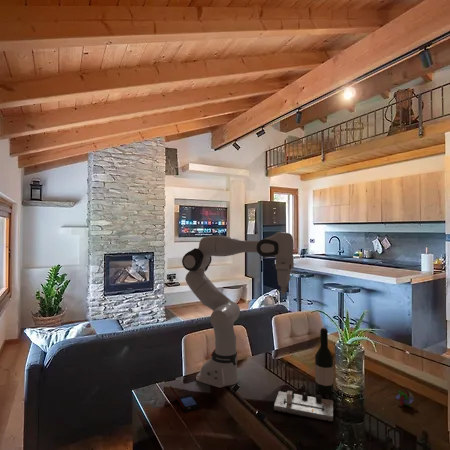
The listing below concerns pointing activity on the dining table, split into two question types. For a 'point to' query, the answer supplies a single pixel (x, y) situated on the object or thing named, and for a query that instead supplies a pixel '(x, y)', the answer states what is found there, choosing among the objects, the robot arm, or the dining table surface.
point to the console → (305, 405)
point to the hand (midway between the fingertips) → (284, 292)
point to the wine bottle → (324, 365)
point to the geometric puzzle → (405, 398)
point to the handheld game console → (187, 402)
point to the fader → (289, 397)
